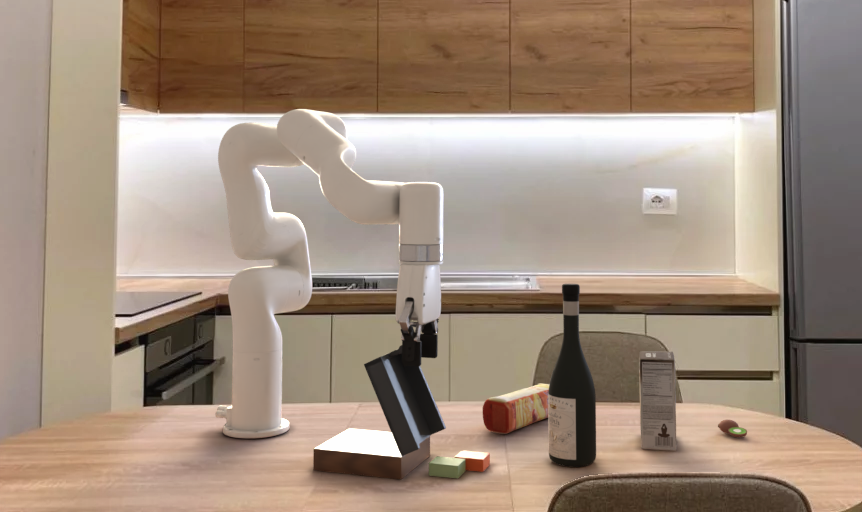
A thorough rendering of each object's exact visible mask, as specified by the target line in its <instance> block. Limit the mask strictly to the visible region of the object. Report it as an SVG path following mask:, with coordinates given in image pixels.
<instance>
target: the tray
mask: <svg viewBox="0 0 862 512" xmlns="http://www.w3.org/2000/svg"><path fill="white" fill-rule="evenodd" d="M419 341H420V340H419ZM363 366H364V368H365V371H366V373H367V376H368V379H369V381H370V383H371V385H372V388H373V391H374V393H375V395H376V399H377V401H378V403H379V406H380V408H381V410H382V412H383V415H384V417H385V420H386V422H387V425H388V427H389V430H390V432H392V435H393V437H394V440H395V442H396V445H397V447H398V450H399V452H400V454H401V456H404V455H406V454H409V453H411V452H413V451H416V450H418V449H420V446H419V444H420V443H421V442H423V441H424V440H425V439H427V438H428V437H429V436H430V437H431V436H432V435H435V434H436V433H440V432H442V431H444V430H445V429H447V426H446V424H445V420H444V419H443V417H442V414H441V413H440V410H439V407H438V405H437V403H436V400H435V397H434V396H433V393H432V390H431V388H430V386H429V383H428V381H427V379H426V377H425V374H424V371H423V369H422V367H421V365H420V366H419V367H417V366H404V365H402V344H401V345H399V347H398V348H397V349H394V350H392V351H390V352H387V353H386V354H383V355H381V356H378V357H376V358H374V359H372V360H370V361H368V362H366V363H363Z"/></svg>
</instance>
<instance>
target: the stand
mask: <svg viewBox="0 0 862 512" xmlns="http://www.w3.org/2000/svg"><path fill="white" fill-rule="evenodd" d="M419 446H420V449H418V450H416V451H413V452H411V453H409V454H406V455H404V456H401V454H400V452H399V450H398V447H397V445H396V442H395V440H394V437H393V435H392V432H391V431H383V430H373V429H362V428H361V429H360V428H347V429H346V430H344V431H342V432H341V433H339V434H337V435H335V436H333V437H332V438H330V439H328V440H326V441H325V442H323V443H321V444H319V445H318V446H316V447H314V448H313V459H312V461H313V462H312V463H313V465H312V466H313V467H312V468H313V471H318V472H327V473H335V474H345V475H355V476H365V477H373V478H381V479H390V480H392V479H393V480H402V479H404V478H405V477H407V475H409V474H410V473H411V472H412V471H414V470H415V468H417V467H418V466H420V465H421V464H422V463H423V462H424V461H426V460H427V459H428V458H429V457H431V436H429V437H428V438H427V439H425V440H424V441H423V442H421V443H420V444H419Z"/></svg>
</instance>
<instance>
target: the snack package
mask: <svg viewBox="0 0 862 512" xmlns="http://www.w3.org/2000/svg"><path fill="white" fill-rule="evenodd" d="M549 384H550V383H537V384H535V385H532V386H530V387H524V388H521V389H518V390H515V391H512V392H509V393H505V394H501V395H497V396H493V397H489V398H486V400H485V401H484V403H483V405H482V420H483V425H484V426H485V428H486V429H487V430H488V431H489V432H491V433H494V434H499V435H507V434H510V433H511V432H514V431H517V430H518V429H519V430H520V429H522V428H524V427H526V426H529V425H531V424H535V423H537V422H540V421H542V420H545V419H548V391H549Z"/></svg>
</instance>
